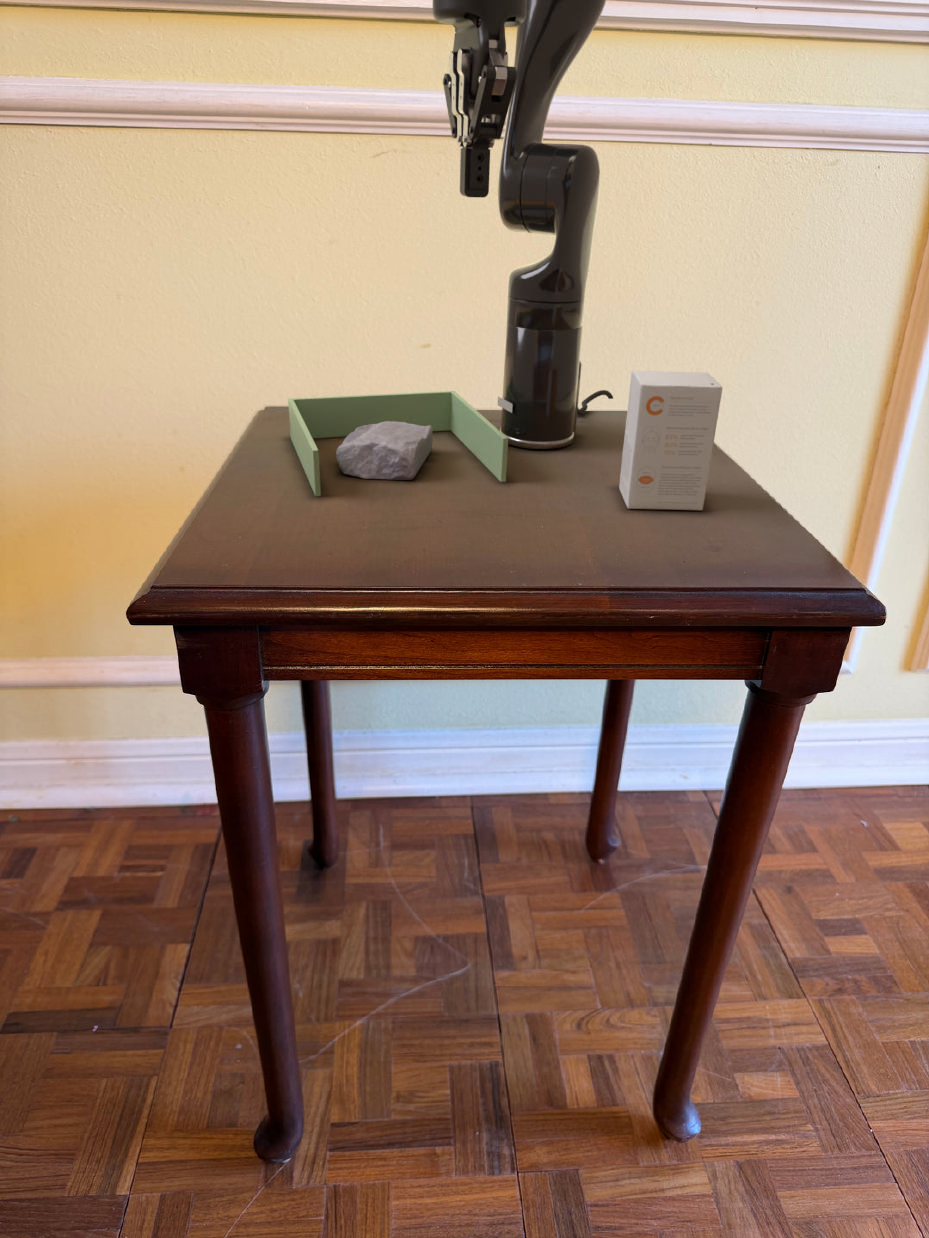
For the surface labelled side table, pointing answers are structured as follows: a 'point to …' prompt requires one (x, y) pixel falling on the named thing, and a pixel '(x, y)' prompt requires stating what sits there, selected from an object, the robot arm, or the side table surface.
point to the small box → (669, 439)
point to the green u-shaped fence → (413, 408)
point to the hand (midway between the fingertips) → (473, 196)
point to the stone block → (385, 450)
